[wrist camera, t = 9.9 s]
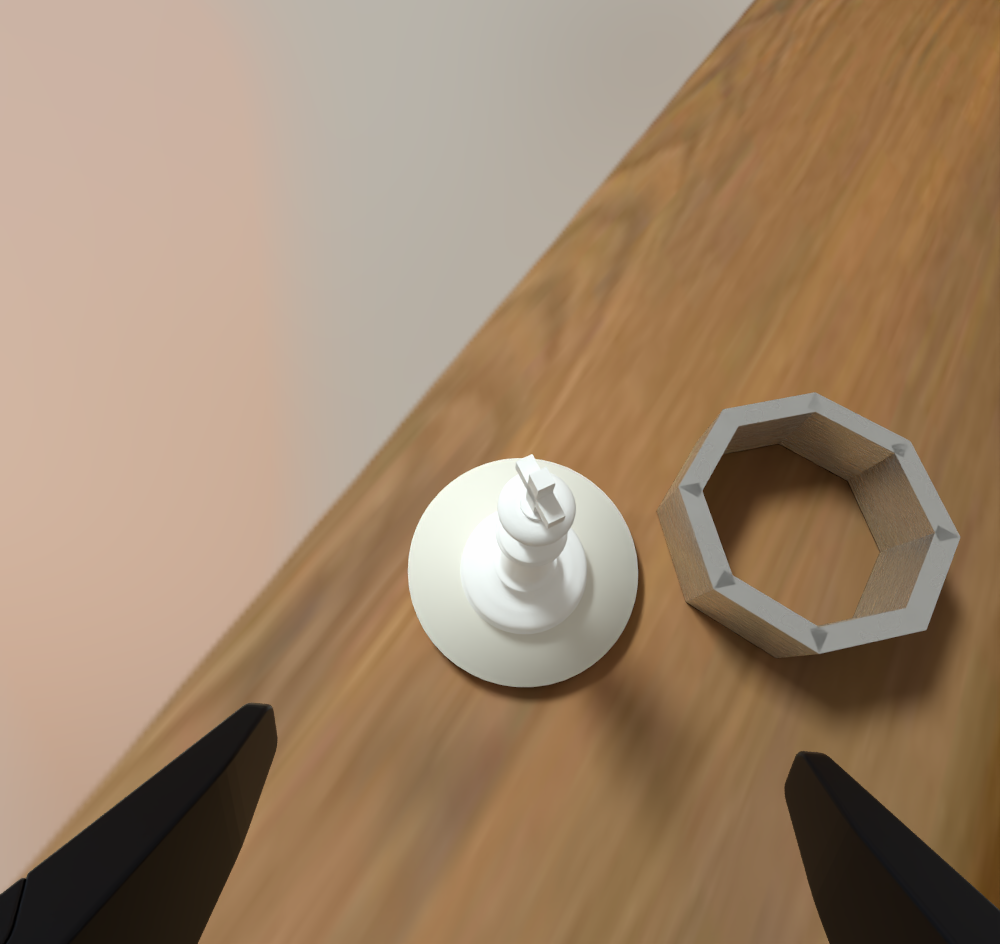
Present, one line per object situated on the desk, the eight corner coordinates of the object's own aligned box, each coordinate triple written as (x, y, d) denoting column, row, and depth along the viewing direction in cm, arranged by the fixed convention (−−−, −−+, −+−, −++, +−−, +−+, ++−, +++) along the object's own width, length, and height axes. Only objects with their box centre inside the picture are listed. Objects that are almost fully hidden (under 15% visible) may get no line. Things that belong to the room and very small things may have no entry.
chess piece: (550, 489, 23) (586, 351, 13) (609, 599, 21) (697, 529, 12) (440, 539, 22) (397, 430, 13) (493, 657, 20) (488, 632, 11)
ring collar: (844, 700, 20) (900, 703, 17) (625, 564, 22) (643, 546, 19) (923, 503, 23) (982, 477, 20) (723, 396, 25) (751, 359, 22)
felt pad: (559, 738, 20) (561, 740, 19) (364, 599, 22) (360, 596, 21) (673, 536, 23) (678, 532, 22) (491, 427, 24) (491, 421, 24)
